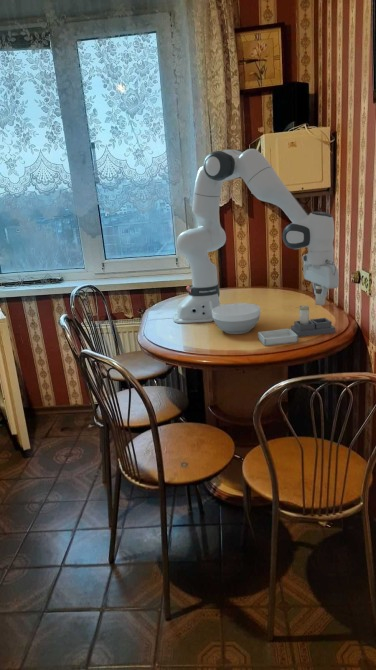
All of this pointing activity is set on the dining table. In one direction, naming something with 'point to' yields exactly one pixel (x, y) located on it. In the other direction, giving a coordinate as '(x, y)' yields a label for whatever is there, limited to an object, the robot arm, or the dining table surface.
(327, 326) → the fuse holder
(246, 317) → the bowl
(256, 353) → the dining table surface
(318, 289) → the fuse
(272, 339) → the parts tray
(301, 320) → the fuse
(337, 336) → the dining table surface
